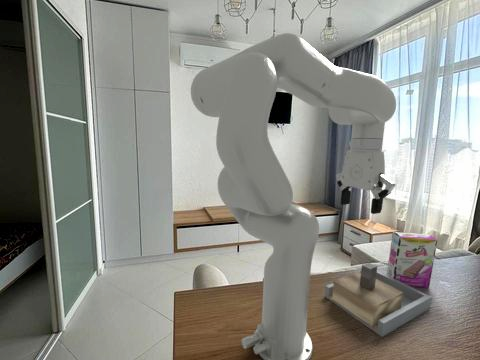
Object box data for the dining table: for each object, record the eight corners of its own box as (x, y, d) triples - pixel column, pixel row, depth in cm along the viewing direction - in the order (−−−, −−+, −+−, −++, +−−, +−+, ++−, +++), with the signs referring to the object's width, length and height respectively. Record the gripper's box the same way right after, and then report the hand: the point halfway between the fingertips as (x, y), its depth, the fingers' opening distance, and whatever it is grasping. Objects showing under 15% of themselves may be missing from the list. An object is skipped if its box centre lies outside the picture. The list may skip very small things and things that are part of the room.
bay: (381, 336, 58) (383, 323, 58) (325, 296, 73) (326, 285, 72) (429, 308, 69) (431, 296, 68) (371, 278, 83) (373, 268, 83)
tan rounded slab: (372, 327, 60) (377, 282, 58) (331, 298, 71) (335, 260, 69) (400, 311, 66) (406, 271, 64) (359, 287, 76) (363, 252, 75)
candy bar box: (393, 286, 79) (399, 236, 77) (385, 277, 84) (391, 231, 82) (430, 289, 78) (438, 239, 76) (420, 280, 83) (428, 233, 81)
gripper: (330, 144, 72) (325, 202, 75) (388, 146, 57) (380, 219, 60) (348, 145, 76) (343, 200, 78) (408, 147, 60) (399, 215, 63)
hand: (359, 208), depth 69 cm, fingers open, 9 cm apart
